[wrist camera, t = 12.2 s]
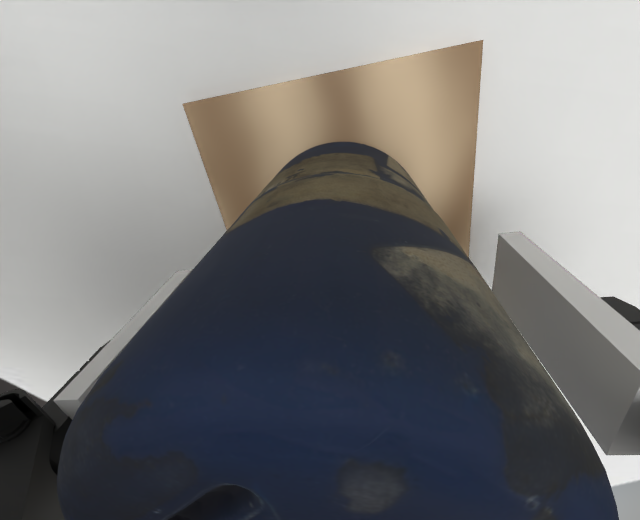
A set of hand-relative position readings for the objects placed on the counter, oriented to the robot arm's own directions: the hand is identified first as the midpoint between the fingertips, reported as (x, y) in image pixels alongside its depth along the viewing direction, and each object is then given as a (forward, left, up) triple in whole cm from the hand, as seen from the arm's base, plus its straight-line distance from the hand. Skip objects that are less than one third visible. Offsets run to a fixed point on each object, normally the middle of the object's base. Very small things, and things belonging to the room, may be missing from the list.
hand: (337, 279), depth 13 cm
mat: (0, 0, -8) cm, 8 cm away
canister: (0, 0, -8) cm, 8 cm away
